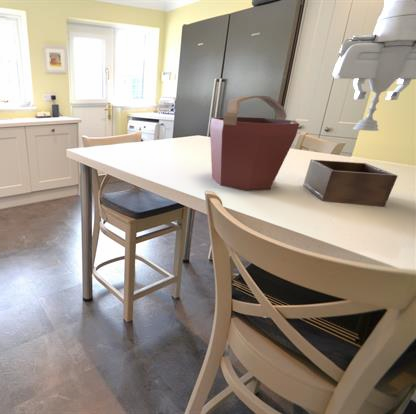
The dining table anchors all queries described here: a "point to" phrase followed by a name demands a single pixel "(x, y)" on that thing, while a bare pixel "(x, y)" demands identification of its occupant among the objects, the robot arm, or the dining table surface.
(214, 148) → the bucket
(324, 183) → the bin
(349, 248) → the dining table surface
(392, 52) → the chalice
